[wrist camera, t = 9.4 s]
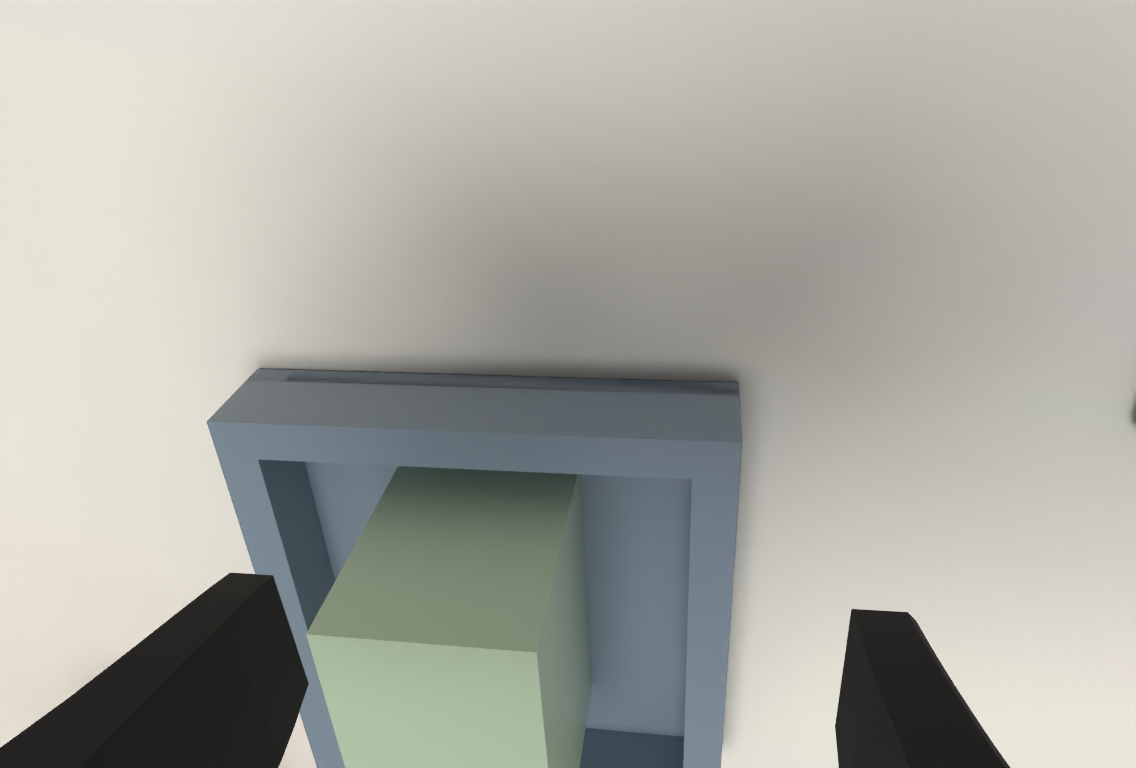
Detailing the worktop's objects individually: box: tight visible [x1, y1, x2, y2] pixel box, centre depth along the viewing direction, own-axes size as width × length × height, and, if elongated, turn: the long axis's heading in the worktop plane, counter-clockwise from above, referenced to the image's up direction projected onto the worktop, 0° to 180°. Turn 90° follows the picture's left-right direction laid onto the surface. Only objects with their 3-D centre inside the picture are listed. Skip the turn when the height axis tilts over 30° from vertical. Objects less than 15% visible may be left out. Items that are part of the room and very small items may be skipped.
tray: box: [207, 369, 742, 768], centre depth 22 cm, size 12×13×2 cm
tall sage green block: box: [306, 466, 592, 768], centre depth 20 cm, size 4×8×6 cm, turn 3°
